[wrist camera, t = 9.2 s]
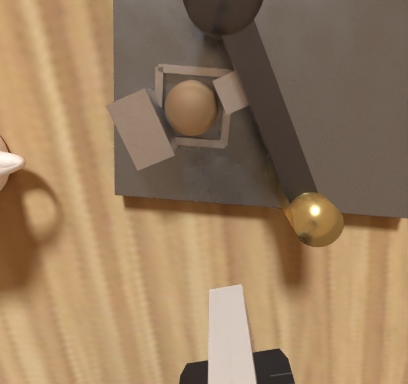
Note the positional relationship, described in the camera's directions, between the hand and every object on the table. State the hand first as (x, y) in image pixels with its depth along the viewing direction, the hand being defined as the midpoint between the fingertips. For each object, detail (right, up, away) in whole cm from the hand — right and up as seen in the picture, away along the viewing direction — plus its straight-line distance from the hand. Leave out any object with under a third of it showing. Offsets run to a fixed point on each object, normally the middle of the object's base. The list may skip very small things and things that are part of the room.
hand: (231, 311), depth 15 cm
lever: (+3, +12, +10) cm, 16 cm away
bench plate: (+5, +16, +12) cm, 21 cm away
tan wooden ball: (-2, +12, +11) cm, 17 cm away
